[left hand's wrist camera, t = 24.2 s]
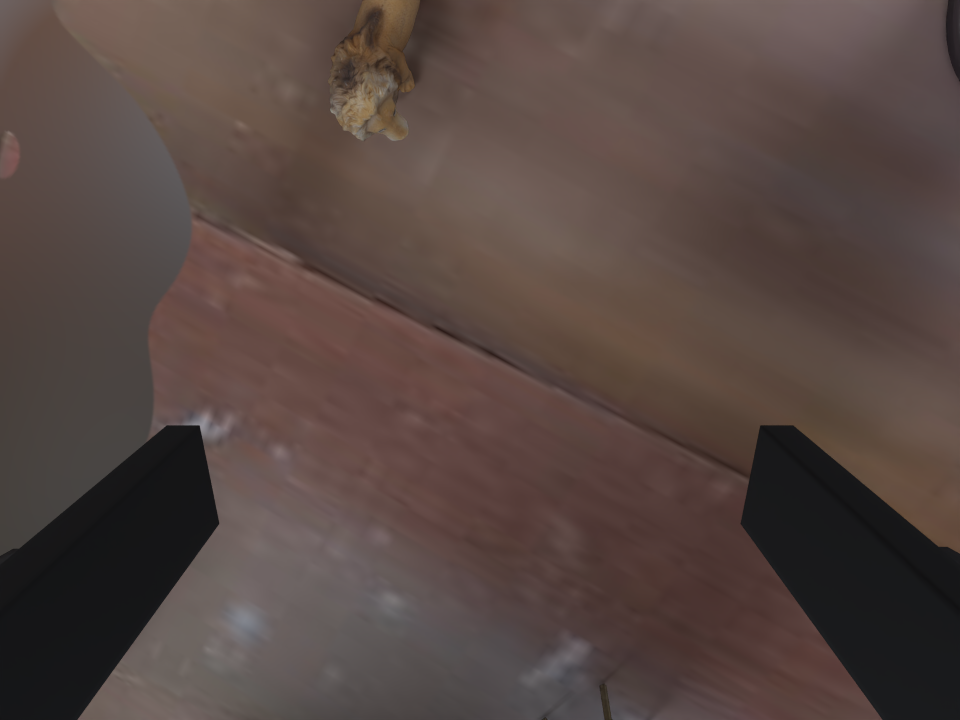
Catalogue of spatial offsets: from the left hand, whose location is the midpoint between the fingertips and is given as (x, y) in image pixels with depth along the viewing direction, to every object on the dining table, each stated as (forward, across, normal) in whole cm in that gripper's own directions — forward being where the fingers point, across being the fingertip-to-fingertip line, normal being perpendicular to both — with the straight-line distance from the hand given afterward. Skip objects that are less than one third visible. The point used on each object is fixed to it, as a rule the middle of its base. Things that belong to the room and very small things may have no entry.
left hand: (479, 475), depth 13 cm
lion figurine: (+29, -5, +15) cm, 33 cm away
